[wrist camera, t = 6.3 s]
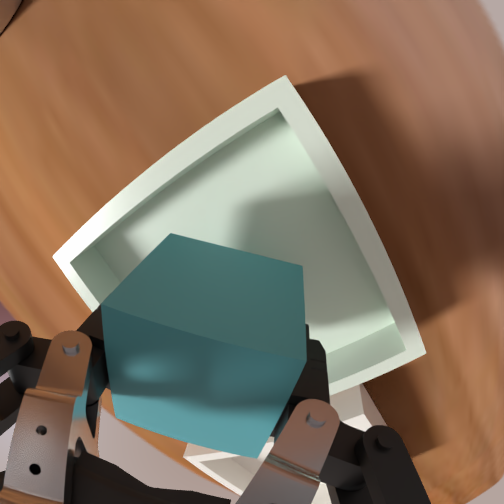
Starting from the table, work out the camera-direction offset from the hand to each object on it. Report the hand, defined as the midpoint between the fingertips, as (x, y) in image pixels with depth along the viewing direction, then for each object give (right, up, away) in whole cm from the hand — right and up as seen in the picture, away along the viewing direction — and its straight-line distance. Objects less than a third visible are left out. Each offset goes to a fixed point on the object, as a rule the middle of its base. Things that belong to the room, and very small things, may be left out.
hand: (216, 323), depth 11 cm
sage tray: (+1, +1, +4) cm, 4 cm away
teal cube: (0, 0, +1) cm, 1 cm away
